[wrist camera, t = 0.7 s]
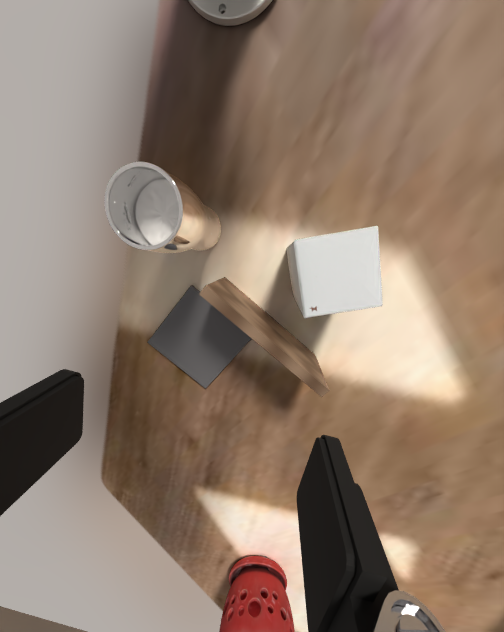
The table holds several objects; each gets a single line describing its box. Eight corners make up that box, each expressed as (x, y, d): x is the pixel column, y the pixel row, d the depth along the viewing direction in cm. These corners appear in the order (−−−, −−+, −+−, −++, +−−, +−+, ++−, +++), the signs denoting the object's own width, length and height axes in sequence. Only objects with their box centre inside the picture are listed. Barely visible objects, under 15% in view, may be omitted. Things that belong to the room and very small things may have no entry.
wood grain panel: (219, 283, 35) (198, 294, 25) (224, 277, 35) (205, 285, 25) (309, 359, 37) (321, 397, 27) (315, 354, 36) (329, 390, 27)
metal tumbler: (189, 261, 35) (128, 266, 20) (167, 214, 33) (85, 183, 19) (232, 241, 33) (199, 231, 19) (211, 192, 32) (159, 140, 18)
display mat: (149, 341, 38) (147, 342, 38) (192, 285, 35) (190, 285, 35) (206, 386, 40) (205, 388, 39) (252, 336, 37) (252, 337, 36)
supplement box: (344, 289, 34) (384, 309, 21) (292, 297, 35) (302, 320, 22) (340, 235, 32) (381, 223, 20) (285, 245, 33) (291, 240, 21)
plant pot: (245, 597, 52) (237, 696, 40) (218, 555, 49) (201, 647, 38) (302, 586, 49) (310, 688, 38) (276, 541, 47) (276, 635, 35)
